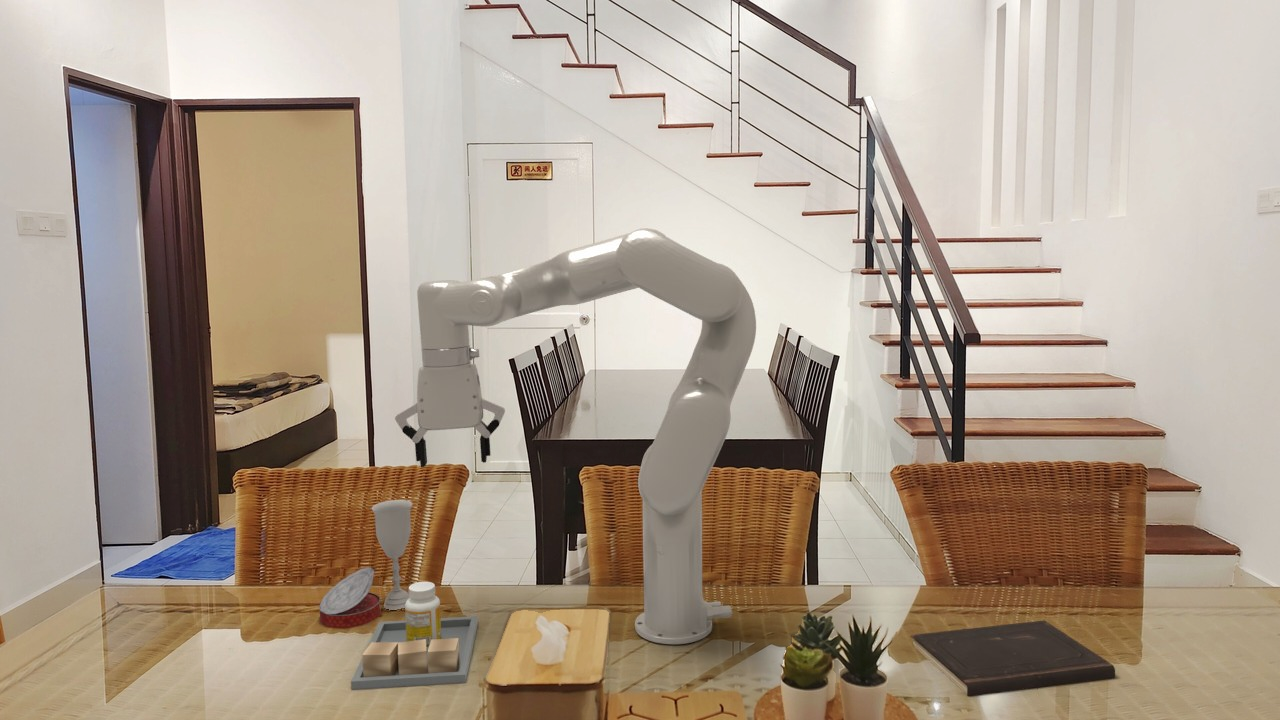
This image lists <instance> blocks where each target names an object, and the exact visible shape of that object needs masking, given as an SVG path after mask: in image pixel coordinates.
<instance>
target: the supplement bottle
mask: <svg viewBox="0 0 1280 720" xmlns="http://www.w3.org/2000/svg"><path fill="white" fill-rule="evenodd" d="M435 594H436V585H435V583H434V582H430V581H418V582H415V583H414V582H413V583H412V584H411V585H409V587H408V595H409V597H410V598H409V599H408V600H407V601H406V603H405V609H404V612H405V614H404V615H405V620H406V638H407V641H415V640H423V639H426V650H427V651H428V648H429V645H430V642H431V640H434V639H441V618H442V617H441V616H442V615H441V601H440V598H439V597H438V596H437V595H435Z"/></svg>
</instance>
